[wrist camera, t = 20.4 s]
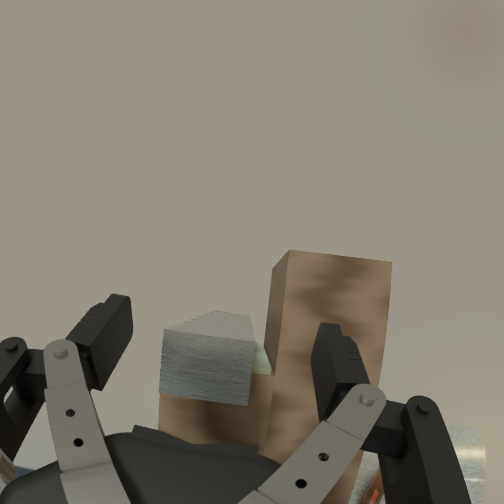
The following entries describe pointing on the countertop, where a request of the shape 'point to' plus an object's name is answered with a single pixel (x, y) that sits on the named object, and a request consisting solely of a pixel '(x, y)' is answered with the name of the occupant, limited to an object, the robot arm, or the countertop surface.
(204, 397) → the steel bar
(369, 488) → the tin
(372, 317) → the walnut stand
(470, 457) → the countertop surface
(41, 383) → the robot arm
